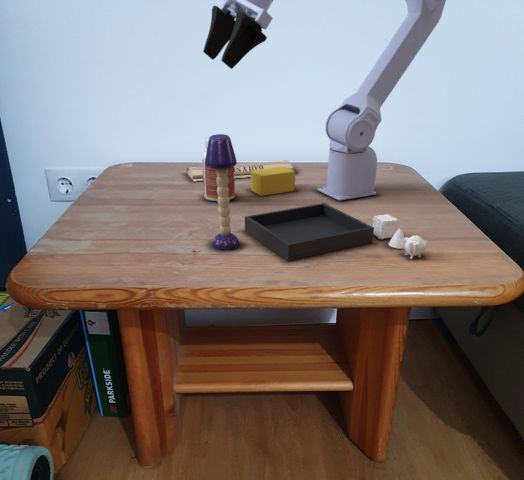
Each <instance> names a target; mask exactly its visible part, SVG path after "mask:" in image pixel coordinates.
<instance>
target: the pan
mask: <svg viewBox="0 0 524 480" xmlns="http://www.w3.org/2000/svg"><path fill="white" fill-rule="evenodd" d="M373 231H374V227H372V225H370V224H367V223H365V222H364V221H361V220H360V219H357V218H355V217H353V216H351V215H349V214H348V213H346V212H343V211H341V210H339V209H338V208H335V207H333V206H331V205H330V204H327V203H326V202H321V203H317V204H311V205H305V206H299V207H294V208H293V207H292V208H287V209H280V210H275V211H269V212H263V213H258V214H257V213H256V214H252V215H246V216H244V232H245V233H247V234H248V235H249V236H251V237H252V238H254V239H255V240H257V241H258V242H260V243H261V244H262V245H264V246H265V247H267V248H268V249H269V250H271V251H272V252H274V253H276V255H279V256H280V257H281V258H282V259H284V260H285V261H287V262H290V261H296V260H299V259H303V258H308V257H313V256H318V255H322V254H327V253H331V252H336V251H340V250H344V249H349V248H354V247H358V246H363V245H368V244H372V243H373V239H374V234H373Z"/></svg>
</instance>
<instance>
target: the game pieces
mask: <svg viewBox="0 0 524 480" xmlns="http://www.w3.org/2000/svg"><path fill="white" fill-rule="evenodd" d="M398 224H399V219H398V218H396V217H394V216H392V215H391V214H389V213H385V214H379V215H377V214H376V215H374V216H373V217H372V225H371V226H372V227H374V231H373V236H375V237H377V239H379V240H384V239H390V240H389V242H388V243H387V244H388V246H389V247H391V248H393V249H403V251H405V253H404V256H409V255H410V257H409V259H414V256H417V258H421V257H422V254H425V253H424V252H425V251H426V249H427V246H428V240H425V239H423V237H422V236H420V235H416V234H415V235H411V236H410V237H407V236H404V231H403V230H402V229H401V228H398Z"/></svg>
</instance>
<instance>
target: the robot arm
mask: <svg viewBox="0 0 524 480" xmlns="http://www.w3.org/2000/svg"><path fill="white" fill-rule="evenodd" d="M446 1H447V0H405V4H406V6H407V14H406V16H405V18H404V19H403V21H402V22H401V24H400V26H399V27H398V28H397V30H396V31H395V33H394V35H392V38H391V39H390V41H389V42H388V43H387V45H386V47H385V48H384V50H383V51H382V53H381V54H380V56H378V57H379V58H378V59H377V60H376V62H375V63H374V65H373V66H372V68H371V69H370V71H369V73H368V74H367V76H366V77H365V79H364V80H363V81H362V82H361V84H360V86H359V88H358V89H357V90H356V92H355V93H353V94H351V95H350V96H348V97H346V98H345V99H344V100H343V101H342V103H341V104H340V105H339V106H338V107H337V108H336V109H334V110H332V111H331V112H330V113H329V115H328V116H327V118H326V121H325V127H324V129H325V134H326V136H327V137H328V139H329V150H328V161H327V175H326V186H323V187H318V188H317V191H318V192H320V193H322V194H324V195H326V196H328V197H331V198H333V199H334V200H337V201H346V200H351V199H352V200H353V199H358V198H363V197H369V196H375V195H377V192H376V191H375V183H376V176H377V170H378V169H377V167H378V158H377V153H376V150H374V148H372V147H371V146H370V145H372V143H373V141H374V139H375V136H376V131H377V129H378V126H379V125H380V123H381V122H382V113H381V108H382V106H383V105H384V104H385V102H386V100H387V99H388V97H389V96H390V94H391V93H392V91H393V90H394V89H395V87H396V85H397V84H398V83H399V81H400V79H401V78H402V77H403V75H404V74H405V72H406V71H407V70H408V68H409V66H410V65H411V64H412V62H413V61H414V59H415V58H416V56H417V54H418V53H419V51H420V50H421V49H422V48H423V46H424V44H425V43H426V42H427V40H428V38H429V37H430V35H431V34H432V33H433V31H434V29H436V27H437V25H438V24H439V22H440V20H441V17H442V15H443V12H444V9H445V5H446ZM273 2H274V0H223V1H222V2H221V4H220V6H218V5H213V6H212V7H211V20H210V26H209V30H208V34H207V37H206V41H205V44H204V47H203V50H202V52H203V53H204V54H205V55H206V56H207V57H208V58H210V59H211V60H213V61H214V60H215V59H216V58H217V57H218V56H219V54H220V53H221V52H222V51H223V49H224V47H225V46H226V47H225V49H224V52H223V53H222V56H221V60H220V61H221V62H222V63H223V64H225V66H227V67H228V68H229V69H230V70H232V69H234V68H235V67H236V66H237V65H238V64H239V62H241V61H242V60H243V58H245V56H246V55H247V54H249V53H250V52H251V51H252V50H253V49H254V48H256V47H258V46H259V45H260V44H262V43H264V42H266V40H267V39H268V37H267V36H266V35H265V33H264V32H263V30H265V31H266V30H267V29H268V27H269V25H270V23H271V22H272V20H273V16H272V15H271V14H270V13H268V11H269V9H270V7H271V5H272V4H273Z"/></svg>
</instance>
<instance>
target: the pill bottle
mask: <svg viewBox="0 0 524 480" xmlns="http://www.w3.org/2000/svg"><path fill="white" fill-rule="evenodd" d="M209 138H210V137H208V138H205V140H204V144H205V145H204V146H205V149H207V147H208V141H209ZM206 153H207V150H205V151H204V152H203V153H202V155H201V164H202V166H201V167H203V181H202V183H203V184H202V185H203V197H204V198H205V199H206V200H207V201H210V202H216V203H218V194H217V187H218V185H217V182H216V179H217V174H216V169H213V168H209V167H207V166H206V164H205V159H206ZM227 177H228V185H227V186H228V189H229V194H228V197H229V201H231V200H233V199H234V198H235V197H236V188H235V187H236V180H235V179H236V178H234V166H233V167H231V168H228V174H227Z"/></svg>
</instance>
